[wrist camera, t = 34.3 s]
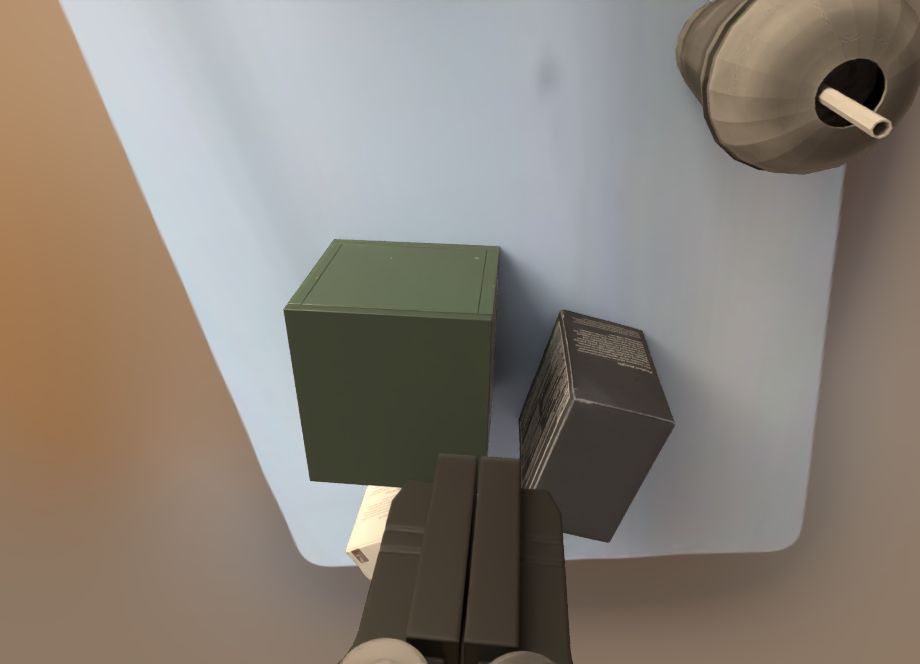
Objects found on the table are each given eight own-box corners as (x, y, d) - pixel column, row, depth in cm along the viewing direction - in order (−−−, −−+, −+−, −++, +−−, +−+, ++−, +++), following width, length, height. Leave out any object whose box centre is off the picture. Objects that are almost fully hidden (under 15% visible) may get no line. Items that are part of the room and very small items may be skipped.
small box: (595, 440, 47) (612, 549, 38) (516, 420, 47) (514, 525, 38) (649, 329, 42) (683, 427, 33) (559, 306, 42) (568, 398, 33)
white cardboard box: (460, 508, 53) (451, 581, 46) (402, 528, 55) (386, 600, 48) (423, 461, 50) (408, 531, 44) (364, 484, 52) (342, 554, 46)
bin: (493, 388, 46) (486, 475, 38) (348, 379, 47) (312, 462, 39) (499, 246, 40) (492, 314, 32) (333, 238, 41) (287, 303, 33)
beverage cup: (780, 108, 34) (1040, 245, 17) (647, 122, 35) (763, 263, 18) (801, -43, 30) (1160, -64, 13) (652, -23, 31) (805, -19, 14)
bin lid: (485, 487, 38) (485, 494, 37) (312, 474, 39) (309, 481, 38) (492, 314, 32) (492, 320, 31) (286, 303, 33) (282, 308, 32)
